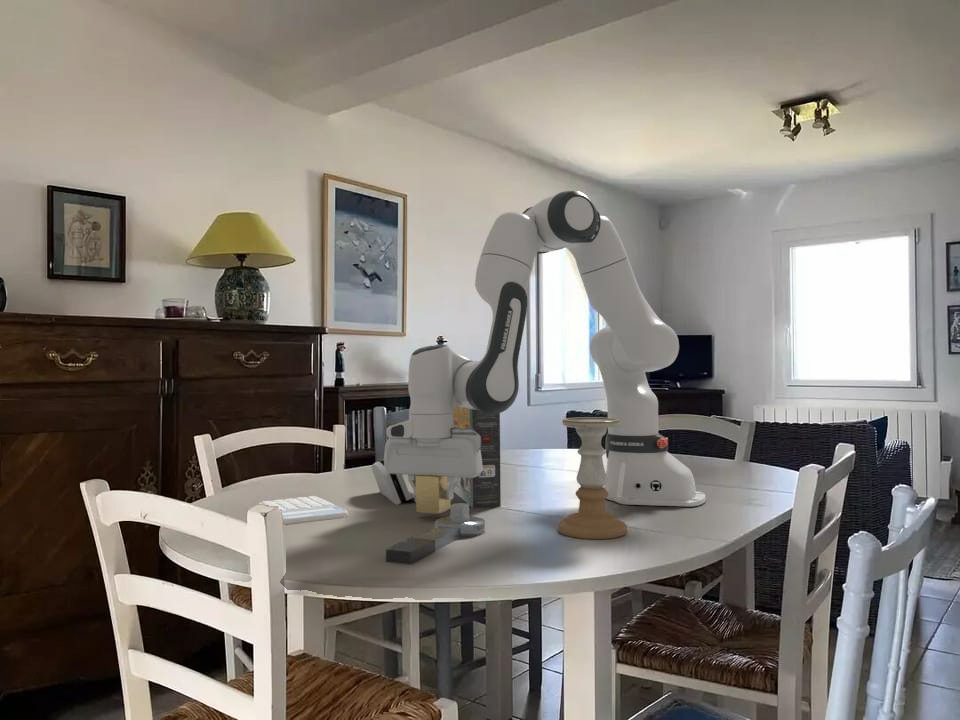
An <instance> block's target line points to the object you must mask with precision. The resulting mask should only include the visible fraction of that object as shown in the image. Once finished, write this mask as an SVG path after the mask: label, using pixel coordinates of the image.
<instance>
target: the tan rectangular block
mask: <svg viewBox="0 0 960 720" xmlns="http://www.w3.org/2000/svg"><path fill="white" fill-rule="evenodd" d="M449 484H450V482H448V481H447V477H445V476H426V475H417V476H416V503H415V505H416V507H415V508H416V510H415V511H416V513H426V514H437V515H438V514H442V513H444V512H447V511H448V510H451V505H452V504H451V503H452V499H451V500H445V499H443V490H446V489H447V488H448V486H449Z"/></svg>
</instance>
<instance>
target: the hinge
mask: <svg viewBox="0 0 960 720" xmlns="http://www.w3.org/2000/svg"><path fill="white" fill-rule="evenodd" d="M371 470H372V473H373V476H374V479H375V483H376V485H377V487H378V490H379V492H380V494H382V495H383V496H384V497H386V498H387V499H388V500H389V501H391V503H393V504H394V505H400V504H402V502H403V501H409V500H411V501H412V502H413V503H415V504H416V498H415V497H414V492H411V491H410V490H409V489H408V487H407V484H406V480H405V479H404V476H403V474H389V473H388V472H387V471H386V470H385V467H384V458H383V459H381V461H375V462H374V463H372V465H371Z"/></svg>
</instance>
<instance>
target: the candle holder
mask: <svg viewBox="0 0 960 720" xmlns="http://www.w3.org/2000/svg"><path fill="white" fill-rule="evenodd" d="M561 424H562V426H564V427H567V428H575V431H576V434H577V435H578V436H579V437H580V439H581V446H580V447H579V448H578V449H577V454H578V455H580V463H579V467H578V470H577V471H578V472H577V474H576V481H577V483H578V485H579V488H578V489H577V490H576V491H575V496H576V497H577V499H579V505H578V512H574V513H571V514H569V515H568V516H567V517H566V518H564V519H562V520H560V521H559V522H558V524H557V529H558V532H559V533H561V535H564V536H567V537H571V538H576V539H583V540H586V539H587V540H608V539H615V538H620V537H623V536H625V535H626V534H627V532H628V525H627V524H626V523H625V522H624V521H622V520H619V519H618V517H617V516H616V515H614V514H610V513H607V512H606V511H607V509H606V503H605V500H607V499H606V498H607V497H608V495H609V493H608V492H607V491H606V489H605V488H604V485H605V484H606V482H607V475H606V469H605V465H604V461H603V459H604V458H603V456H604V455H606V448H604V447H603V446H602V440H603V437H604V436H605V435H606V434H607V432H608V428H610V427H617V426H619V425H620V424H621V420H620V419H616V418H608V417H603V416H599V417H597V416H594V417H593V416H592V417H591V416H586V417H585V416H583V417H582V416H581V417H580V416H579V417H568V418H567V417H566V418H562V421H561Z"/></svg>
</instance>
